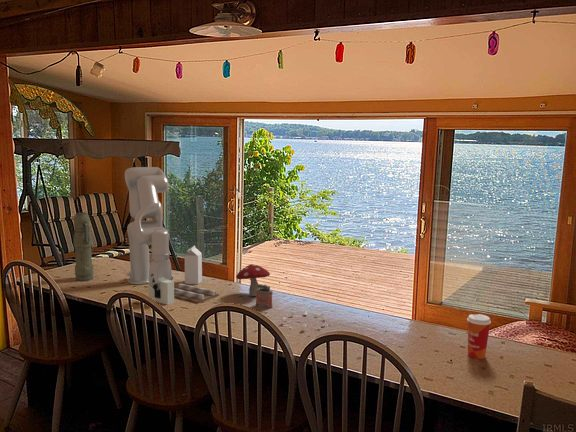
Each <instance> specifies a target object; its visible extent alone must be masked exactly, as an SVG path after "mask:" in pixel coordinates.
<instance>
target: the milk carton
mask: <svg viewBox="0 0 576 432" xmlns="http://www.w3.org/2000/svg"><path fill="white" fill-rule="evenodd" d="M186 252H187V253H186V254H185V255H184V284H185V285H200V283H202V281H203V263H202V262H203V259H202V257H203V256H202V255H203V254H202V252H201V251H200V250H199V249H197V247H196V245H193V246H192V247H190V248H188V249H187V250H186Z"/></svg>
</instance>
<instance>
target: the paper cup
mask: <svg viewBox="0 0 576 432" xmlns="http://www.w3.org/2000/svg"><path fill="white" fill-rule="evenodd" d="M466 321H467V356H468V357H470V358H472V359H473V360H474V359H475V360H483V359H485V358H486V354H487V348H488V340H489V332H490V326H491V325H490V324H491V323H492V322H491V319H490V317H489V316H488V315H485V314H481V313H478V314H477V313H474V314H472V313H471V314H469V315H468V317H467V318H466Z"/></svg>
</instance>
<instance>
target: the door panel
mask: <svg viewBox="0 0 576 432" xmlns="http://www.w3.org/2000/svg"><path fill="white" fill-rule="evenodd" d="M148 281H149V279H148ZM153 284H154V282H153ZM156 286H157V284H156ZM174 288H175V281H174V280H172V281H171V280H165V281H162V282H161V283H160V288H159V290H160V297H161V298H155V292H154V289H153V288H152V287H151V286H149V285H148V298H149V297H151V298H153V299H154V300H155V301H157V302H156V303H159V304H164V305H168V306H169V305H171V304H175V298H174ZM155 301H154V302H155Z"/></svg>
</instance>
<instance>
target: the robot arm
mask: <svg viewBox="0 0 576 432" xmlns="http://www.w3.org/2000/svg"><path fill="white" fill-rule="evenodd" d="M124 179H125V184H126V187H127V190H128V196H129V198H128V199H129V200H128V201H129V214H130V216H131V218H132V219H134V221H132V222H130V223H129V224H127V229H126V230H127V231H126V232H127V236H128V243H129V244H128V245H129V261H130V262H129V264H130V269H129V270H130V271H128V272H127V273H126V275H127V276H128V277H129V278H128V279H127V283H128V284H131V285H146V284H148V287H149V286H151V287H152V288H153V289H154V292H155V298H161V297H160V290H159V288H160V283H161V282H162V281H165V280H171V281H173V279H174V277H173V275H172V273H173V272H172V263H171V260H170V256H171V255H170V247H169V246H170V243H169V242H170V241H169V240H170V239H169V238H170V237H169V231H168V230H167V229H166V228H165V227H164V226H163V225H164V224H163V206H162V203H161V201H160V199H159V195H158V194H160V193H161V194H162V193H167V192H168V190H169V186H170V185H169V180H168V178H167V176H166V174H165V173H164V171H163V170H162V169H161V168H160V167H156V166H145V167H144V166H136V167H135V166H134V167H128V168H127V169H125V171H124ZM143 219H151V220H143ZM149 245H151V261H150V247H149ZM148 279H149V281H148ZM153 282H154V284H153ZM156 284H157V286H156Z"/></svg>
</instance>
